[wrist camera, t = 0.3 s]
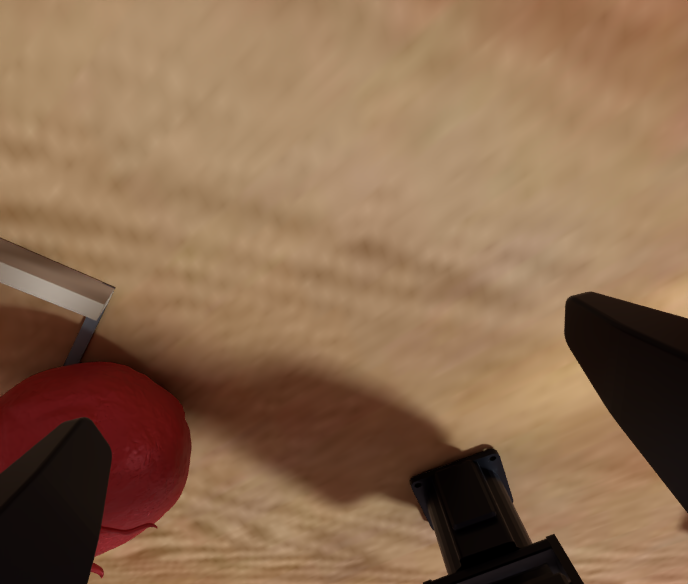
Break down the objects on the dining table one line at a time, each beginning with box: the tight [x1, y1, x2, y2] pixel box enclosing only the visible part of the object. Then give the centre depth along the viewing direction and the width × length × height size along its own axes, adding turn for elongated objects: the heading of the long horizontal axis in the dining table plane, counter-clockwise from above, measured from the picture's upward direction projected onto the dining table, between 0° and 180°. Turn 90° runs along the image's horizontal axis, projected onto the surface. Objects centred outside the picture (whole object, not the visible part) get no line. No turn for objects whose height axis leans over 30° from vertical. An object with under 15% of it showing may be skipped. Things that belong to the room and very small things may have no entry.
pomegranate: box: [0, 362, 191, 578], centre depth 21 cm, size 10×10×9 cm
